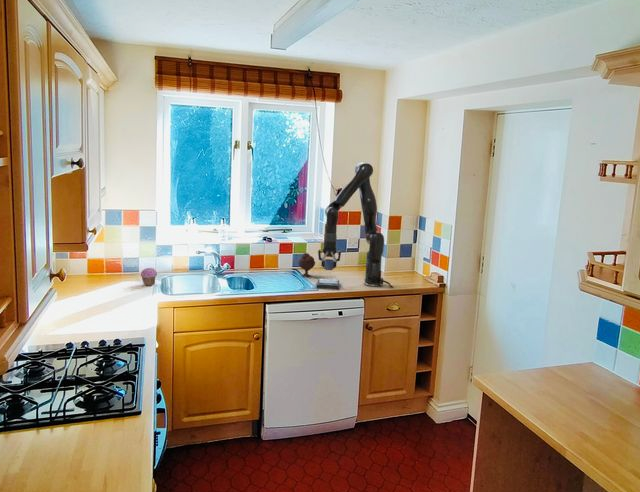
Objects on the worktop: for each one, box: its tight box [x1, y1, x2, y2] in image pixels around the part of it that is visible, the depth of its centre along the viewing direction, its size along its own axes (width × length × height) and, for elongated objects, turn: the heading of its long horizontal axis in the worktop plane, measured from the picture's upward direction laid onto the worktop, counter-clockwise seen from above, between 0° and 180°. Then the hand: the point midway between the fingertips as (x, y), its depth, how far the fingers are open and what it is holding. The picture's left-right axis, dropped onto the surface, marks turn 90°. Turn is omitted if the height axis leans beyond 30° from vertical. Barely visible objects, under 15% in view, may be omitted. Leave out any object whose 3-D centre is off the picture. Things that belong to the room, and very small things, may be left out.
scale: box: [316, 278, 340, 290], centre depth 280 cm, size 13×13×3 cm
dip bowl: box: [323, 258, 335, 271], centre depth 280 cm, size 6×6×5 cm
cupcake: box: [140, 267, 158, 287], centre depth 269 cm, size 9×9×10 cm
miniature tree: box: [297, 252, 316, 278], centre depth 302 cm, size 11×11×15 cm
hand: (328, 267), depth 280 cm, fingers closed on dip bowl, 6 cm apart
